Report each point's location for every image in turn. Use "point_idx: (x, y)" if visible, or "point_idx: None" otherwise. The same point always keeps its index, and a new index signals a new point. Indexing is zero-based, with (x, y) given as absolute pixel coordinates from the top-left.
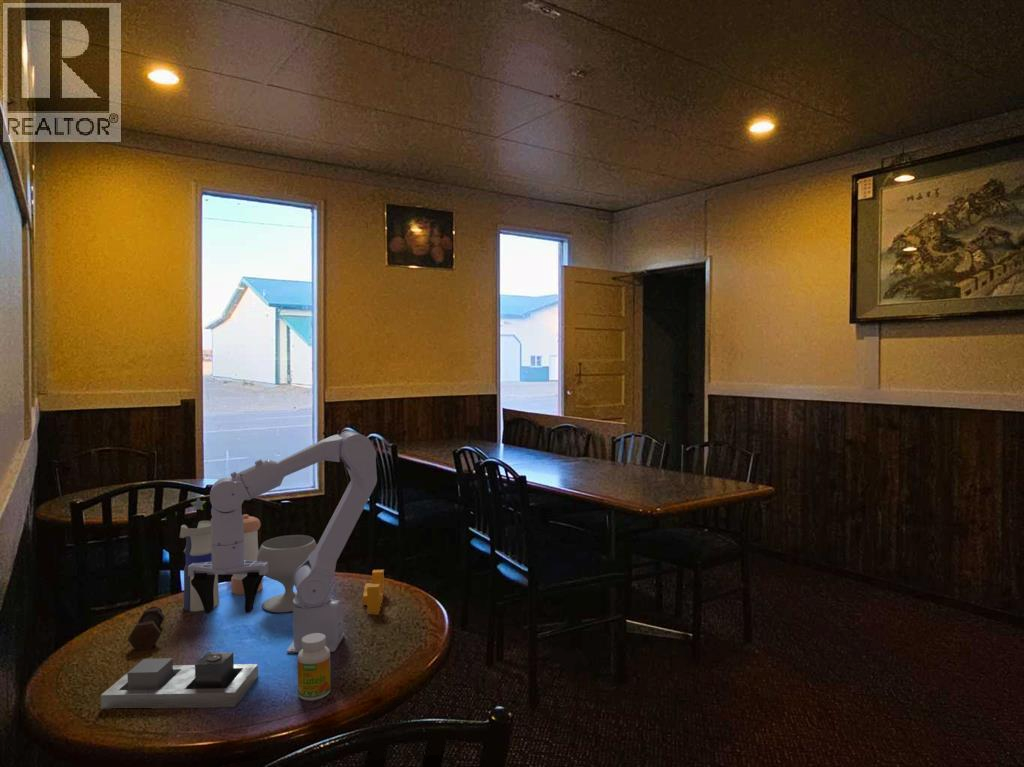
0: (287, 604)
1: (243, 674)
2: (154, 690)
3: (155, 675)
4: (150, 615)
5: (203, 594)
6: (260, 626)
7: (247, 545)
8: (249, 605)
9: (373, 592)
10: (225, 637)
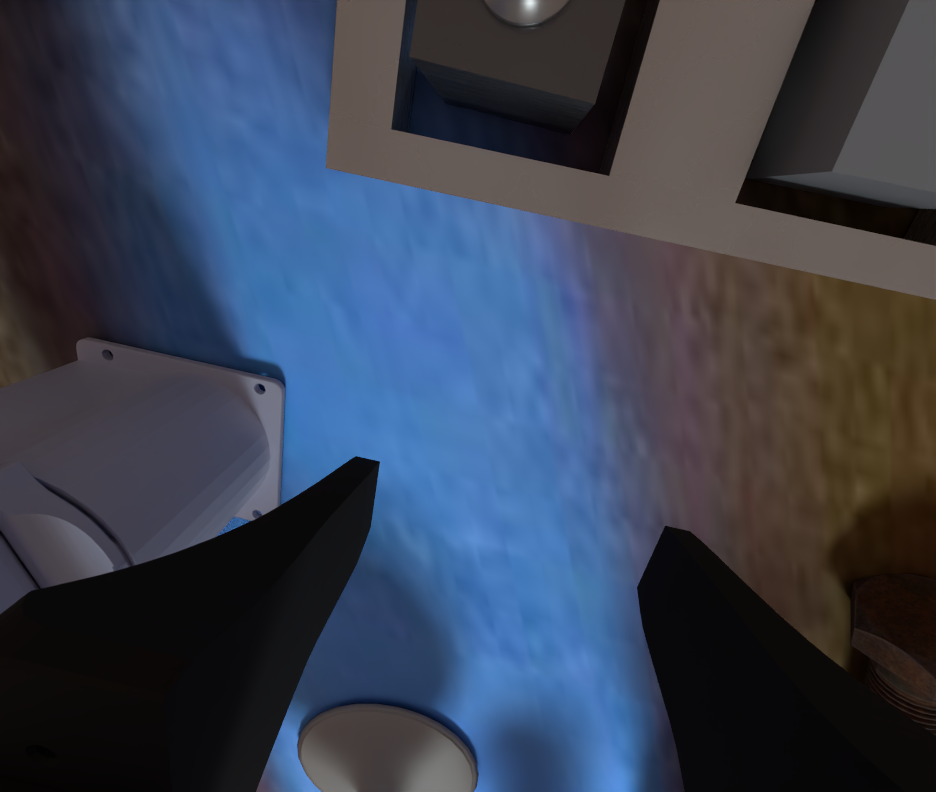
0: (379, 745)
1: (369, 33)
2: None
3: None
4: None
5: (789, 659)
6: (452, 633)
7: None
8: (320, 481)
9: None
10: (570, 585)
